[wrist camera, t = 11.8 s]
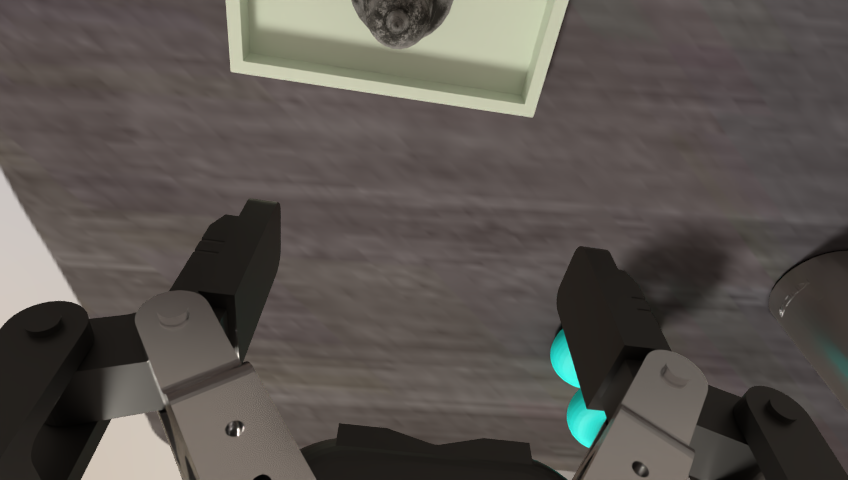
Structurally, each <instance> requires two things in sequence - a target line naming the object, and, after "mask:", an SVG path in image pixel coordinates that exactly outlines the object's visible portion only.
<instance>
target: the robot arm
mask: <svg viewBox="0 0 848 480" xmlns="http://www.w3.org/2000/svg"><path fill="white" fill-rule="evenodd" d="M280 251H281V211H280V204H279V203H278V202H272V201H265V200H258V199H251V198H250V199H248V201H247V203H246V204H245V206H244V208H243V210H242V212H241V213H240V215H239V216H233V215H224V216H223V217H221V218H220V219H218V220H217V221H215V222H214V223H212V224H211V225H210V226H209V227H208V229H207V231H206V232H205V234H204V236H203V237H202V241H200V242H199V244H198V245H197V247H196V248H195V252H193V253H192V255H191V257H190V258H189V260H188V261H187V263H186V265H185V266H184V268H183V270H182V271H181V273H180V274H179V276H178V278H177V279H176V281H175V282H174V284H173V286H172V287H171V289H170V291H169V292H164V293H161V294H158V295H156V296H154V297H152V298H150V299H149V300H147V301H146V302H145V303H143V304H142V305H141V307H140V308H139V309H138V311H137V312H136V313H133V314H128V315H121V316H112V317H103V318H94V319H89V317H88V314H87V312H86V311H85V309H84V308H83V307H81V306H80V305H78V304H75V303H72V302H66V301H54V302H46V303H41V304H37V305H34V306H31V307H29V308H26V309H24V310H22V311H20V312H19V313H17V314H16V315H14V316H13V317H12V318H10V319H9V320H8V321H7V322H6V323H5V324H4V325H3V326H2V328H1V329H0V480H81V478H82V476H83V474H84V472H85V470H86V468H87V466H88V464H89V462H90V460H91V458H92V456H93V454H94V452H95V450H96V448H97V446H98V444H99V442H100V440H101V438H102V436H103V434H104V432H105V430H106V428H107V426H108V425H109V423H110V420H111V419H112V418H119V417H125V416H130V415H136V414H142V413H147V412H153V411H157V412H158V415H159V418H160V420H161V423H162V426H163V429H164V431H165V434H166V437H167V439H168V442H169V445H170V447H171V450H172V453H173V455H174V458H175V461H176V464H177V466H178V469H179V471H180V474H181V477H182V480H567V479H566V478H565V477H563V476H562V475H561V474H559V473H558V472H557V471H555V470H553V469H552V468H550V467H548V466H547V465H545V464H543V463H540V462H538V461H536V460H533V459H532V456H531V451H530V445H529V443H524V442H515V441H505V440H495V439H485V438H483V439H476V440H469V441H463V442H456V443H449V444H443V445H434V444H430V443H427V442H425V441H422V440H419V439H416V438H413V437H410V436H408V435H405V434H402V433H399V432H396V431H393V430H390V429H388V428H379V427H369V426H359V425H350V424H340V423H339V428H338V434H337V438H335V439H329V440H325V441H321V442H317V443H314V444H311V445H309V446H306V447H304V448H302V449H299V448H298V446H297V444H296V442H295V441H294V439H293V437H292V435H291V433H290V432H289V430H288V428H287V426H286V424H285V423H284V421H283V419H282V417H281V415H280V414H279V412H278V410H277V408H276V407H275V405H274V403H273V401H272V399H271V398H270V396H269V394H268V392H267V390H266V389H265V387H264V385H263V383H262V381H261V380H260V378H259V376H258V374H257V373H256V371H255V369H254V368H253V366H252V365H251V364H250V363H249V362H247V361H246V362H244V363H243V361H244V358H245V355H246V353H247V350H248V347H249V345H250V342H251V339H252V337H253V334H254V331H255V329H256V326H257V323H258V321H259V318H260V316H261V313H262V310H263V308H264V305H265V302H266V300H267V297H268V294H269V292H270V289H271V286H272V284H273V281H274V278H275V276H276V273H277V270H278V266H279V260H280ZM769 309H770V312H771V313H772V315H773V316H774V317H775V319H776V320H777V321H778V322H779V324H780V325H781V326H782V328H783V329H784V330H785V332H786V333H787V334H788V335H789V337H790V338H791V339H792V341H793V342H794V343H795V345H796V346H797V347H798V349H799V350H800V351H801V352H802V354H803V355H804V356H805V358H806V359H807V360H808V361H809V363H810V364H811V365H812V367H813V368H814V369H815V370H816V372H817V373H818V374H819V375H820V377H821V378H822V379H823V381H824V382H825V383H826V384H827V386H828V387H829V388H830V390H831V391H832V392H833V393H834V395H835V396H836V397H837V399H838V400H839V401H840V402H841V404H842V405H843V406H844V407H845V409H846V410H847V411H848V251H837V252H832V253H826V254H823V255H820V256H817V257H814V258H812V259H810V260H808V261H805V262H803V263H802V264H800V265H798V266H797V267H795V268H793V269H792V270H791V271H789V272H788V273H787V274H786V275H785V276H783V277H782V278H781V280H780V281H779V282H778V283H777V284H776V285H775V287H774V289H773V290H772V292H771V294H770V297H769ZM557 310H558V314H559V317H560V321H561V324H562V327H563V331H564V334H565V337H566V341H567V344H568V348H569V351H570V354H571V358H572V361H573V365H574V368H575V371H576V375H577V378H578V382H579V385H580V388H581V392H582V395H583V398H584V402H585V405H586V409H590V410H599V411H604V412H605V415H606V420H605V421H604V423H603V425H602V426H601V428H600V430H599V432H598V433H597V435H596V437H595V439H594V441H593V442H592V444H591V446H590V448H589V450H588V452H587V453H586V455H585V457H584V459H583V461H582V462H581V464H580V466H579V468H578V470H577V472H576V473H575V475H574V477H573V479H572V480H687V477H688V475H689V477H690V480H848V475H847V474H846V472H845V471H844V469H843V467H842V466H841V464H840V463H839V461H838V460H837V458H836V457H835V455H834V453H833V452H832V450H831V449H830V447H829V446H828V444H827V443H826V441H825V439H824V438H823V436H822V435H821V433H820V432H819V430H818V428H817V427H816V425H815V424H814V422H813V421H812V419H811V418H810V416H809V415H808V413H807V412H806V411H805V410H804V409H803V408H802V407H801V406H800V405H799V404H798V403H797V402H795V401H794V400H793V399H792V398H790V397H789V396H787V395H785V394H784V393H782V392H780V391H778V390H775V389H773V388H770V387H765V386H754V387H751V388H750V389H749V390H748V391H747V392H746V393H745V394H744V395H743V396H742V397H739V396H736V395H734V394H731V393H728V392H726V391H723V390H720V389H718V388H715V387H712V386H710V385H708V383H707V380H706V378H705V376H704V375H703V373H702V372H701V371H700V369H699V368H698V367H697V366H696V365H695V364H693V363H692V362H691V361H690V360H688V359H687V358H685V357H683V356H681V355H679V354H677V353H675V352H672V351H671V349H670V347H669V345H668V343H667V341H666V339H665V337H664V335H663V333H662V331H661V329H660V327H659V325H658V323H657V321H656V319H655V317H654V315H653V314H652V313H650V311H651V310H650V308H649V306H648V304H647V302H646V301H645V298H644V296H643V294H642V292H641V290H640V288H639V286H638V284H637V283H636V282H635V281H634V280H633V279H632V278H631V277H630V276H629V275H628V274H627V273H626V272H625V271H623V270H618V268H617V266H616V264H615V262H614V260H613V258H612V256H611V254H610V252H609V251H608V250H604V249H597V248H590V247H583V246H580V247H578V248H577V249H576V251H575V253H574V255H573V257H572V259H571V262H570V264H569V266H568V269H567V271H566V273H565V275H564V278H563V280H562V282H561V285H560V287H559V290H558V294H557Z"/></svg>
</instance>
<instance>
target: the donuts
mask: <svg viewBox="0 0 848 480" xmlns="http://www.w3.org/2000/svg"><path fill="white" fill-rule="evenodd" d="M550 357H551V362H552V366H553V368H554V370H555V371H556V373H557V374H558V375H559V376H560V377H561V378H562V379H563V380H564V381H566V382H567V383H569V384H571V385H573V386H575V387H578V388H580V385H579V382H578V378H577V375H576V371H575V368H574V365H573V361H572V358H571V354H570V351H569V348H568V344H567V341H566V337H565V334H564V331H563V329H562V330H561V331H560V332H559V333H558V334H557V336H556V337H555V339H554V341H553V344H552V346H551V353H550ZM605 420H606V415H605V412H604V411H599V410H590V409H586V405H585V402H584V398H583V395H582V392H581V388H580V389H579V390H578V391H577V392H576V393H575V395H574V396H573V398H572V400H571V401H570V403H569V406H568V410H567V423H568V426H569V429H570V431H571V433H572V434H573V436H574V437H575V438H576V439H577V440H578V441H579V442H580V443H581V444H583V445H584V446H586V447H588V448H590V446H591V444H592V442H593V441H594V439H595V437H596V435H597V433H598V432H599V430H600V428H601V426H602V425H603V423H604V421H605Z"/></svg>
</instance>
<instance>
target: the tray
mask: <svg viewBox="0 0 848 480" xmlns="http://www.w3.org/2000/svg"><path fill="white" fill-rule="evenodd" d="M568 1H569V0H454V1H453V3H452V6H451V9H450V12H449V14H448V15H447V17H446V18H445V20H444V21H443V23H442V24H441V25H440V26H439V27H438V28H437V29H436V30H435V31H434V32H433V33H431V34H430V35H428V36H426V37H424V38H422V39H421V40H420V41H419V42H417V43H416V44H415V45H413V46H411V47H409V48H404V49H392V48H389V47H387V46H384V45H383V44H381V43H380V42H378V41H377V40H376V38H375V37H374V36H373V35H372V33H371V32H370V30H369V29H368V27H367V26H366V25H365V24H364V23H363V22H362V21H361V20H360V18H359V17H358V15H357V13H356V11H355V9H354V7H353V5H352V1H351V0H226V11H227V25H228V39H229V53H230V67H231V72H236V73H242V74H249V75H255V76H262V77H269V78H275V79H282V80H288V81H295V82H302V83H308V84H315V85H321V86H328V87H335V88H341V89H348V90H354V91H361V92H368V93H374V94H381V95H387V96H394V97H401V98H407V99H414V100H420V101H427V102H434V103H440V104H447V105H453V106H460V107H467V108H473V109H480V110H487V111H493V112H500V113H506V114H513V115H520V116H526V117H533V116H534V113H535V109H536V106H537V103H538V99H539V96H540V93H541V90H542V86H543V83H544V80H545V77H546V73H547V70H548V67H549V63H550V60H551V57H552V54H553V50H554V47H555V44H556V41H557V37H558V34H559V31H560V27H561V24H562V21H563V18H564V14H565V11H566V8H567V5H568Z"/></svg>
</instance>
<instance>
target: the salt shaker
mask: <svg viewBox="0 0 848 480" xmlns="http://www.w3.org/2000/svg"><path fill="white" fill-rule="evenodd" d="M351 1H352V5H353V7H354V9H355V11H356V13H357V15H358V17H359V18H360V20H361V21H362V22H363V23H364V24H365V25H366V26H367V27H368V29H369V30H370V32H371V33H372V35H373V36H374V37H375V38H376V40H377V41H378V42H380V43H381V44H383V45H384V46H387V47H389V48H392V49H404V48H409V47H411V46H413V45H415V44H416V43H417V42H419V41H420V40H421V39H422V38H424V37H426V36H428V35H430V34H431V33H433V32H434V31H435V30H436V29H437V28H438V27H439V26H440V25H441V24H442V23H443V21H444V20H445V18H446V17H447V15H448V14H449V12H450V9H451V6H452V3H453V1H454V0H351Z"/></svg>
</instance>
